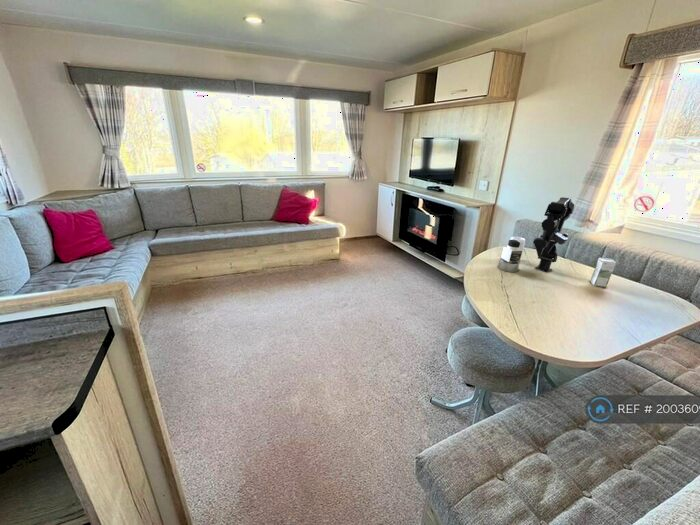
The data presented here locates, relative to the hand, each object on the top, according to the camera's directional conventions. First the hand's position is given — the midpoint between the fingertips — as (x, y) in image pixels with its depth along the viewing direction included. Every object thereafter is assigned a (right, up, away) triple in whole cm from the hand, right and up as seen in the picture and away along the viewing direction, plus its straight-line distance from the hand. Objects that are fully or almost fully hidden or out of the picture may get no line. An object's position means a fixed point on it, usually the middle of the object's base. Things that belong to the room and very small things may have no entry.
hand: (542, 254), depth 167 cm
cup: (-1, -3, +28) cm, 28 cm away
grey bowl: (-12, -8, +14) cm, 20 cm away
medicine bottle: (-11, -3, +12) cm, 17 cm away
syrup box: (+28, -16, -2) cm, 33 cm away
